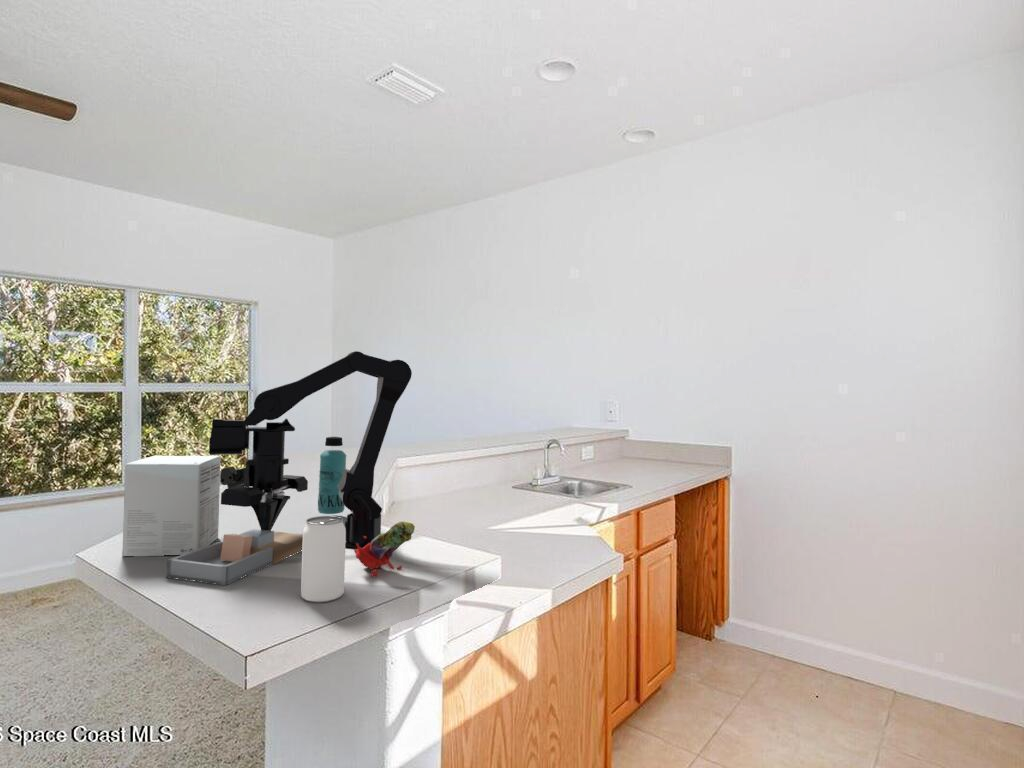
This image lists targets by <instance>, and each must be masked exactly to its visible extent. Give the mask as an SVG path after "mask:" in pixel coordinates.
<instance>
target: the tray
mask: <svg viewBox="0 0 1024 768" xmlns="http://www.w3.org/2000/svg"><path fill="white" fill-rule="evenodd" d="M222 544H223V541H218V542H215V543H214V542H213V543H211V544H210V545H208V546H206V547H203V548H200V549H197V550H194V551H191V552H188V553H186V554H183V555H180V556H173V557H172V558H169V559H167V560H166V578H167V577H170V578H169V579H172V578H178V579H177V580H179V579H187V580H195V581H202V582H207V583H206V584H210V583H216V584H215V585H217V584H222V585H221V586H228V585H229V584H228V583H230V584H232V583H234V582H236V581H238V580H237V579H239V578H241V577H243V576H245V575H247V576H249V575H248V574H250V573H252V572H254V571H256V572H258V571H260V570H262V569H261V568H263V569H265V568H267V567H269V566H271V565H273V564H272V562H273V548H271V547H269V548H266V549H264V550H261V551H259V552H256V553H254V554H251V555H249V556H247V557H244V558H242V559H239V560H237V561H234V562H232V561H224V560H220V557H221V551H222ZM270 564H271V565H270ZM268 565H269V566H268ZM266 566H267V567H266ZM264 567H265V568H264ZM259 569H260V570H259ZM257 570H258V571H257ZM254 573H255V572H254ZM252 574H253V573H252ZM250 575H251V574H250ZM245 577H246V576H245ZM243 578H244V577H243ZM241 579H242V578H241ZM187 580H186V581H187ZM235 580H236V581H235ZM239 580H240V579H239ZM233 581H234V582H233ZM202 582H201V583H202ZM231 582H232V583H231ZM227 584H228V585H227Z"/></svg>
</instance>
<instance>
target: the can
mask: <svg viewBox="0 0 1024 768" xmlns="http://www.w3.org/2000/svg"><path fill="white" fill-rule="evenodd" d="M305 522H306V524H305V525H304V527H303V531H302V534H303V543H302V551H301V552H302V553H301V577H300V579H301V582H300V583H301V585H300V586H301V587H300V596H301V598H302V599H303V600H304V601H306V602H308V603H313V604H314V603H315V604H316V603H329V602H333V601H337V600H339V599H340V598H341V597H342V596H343V594H344V592H345V575H346V574H345V570H346V569H345V568H346V547H345V542H346V528H345V523H344V518H343V517H341V516H337V515H336V516H335V515H320V516H315V517H314V516H312V517H310V518H307V519H306V520H305Z"/></svg>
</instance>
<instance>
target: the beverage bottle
mask: <svg viewBox="0 0 1024 768" xmlns="http://www.w3.org/2000/svg"><path fill="white" fill-rule="evenodd" d="M324 444H325V446H326V447H342V446H344V445H343V438H342V437H340V436H328V437H326V438H325V442H324ZM319 457H320V458H319V459H320V460H319V471H318V477H319V480H318V499H317V510H318V513H319V514H322V515H335V514H342V513H343V512H344V511H345V508H346V507H345V505H344V503H343V502H342V500H341V498H340V496H339V488H338V487H337V485H338V484H339V483H340V481H341V478H342V473H343V469H344V468H345V469H347V466H346V465H347V454H346V453H345V452H344V450H341V449H327V450H326V449H325V450H324V451H323V452H322V453H321V454H320V455H319Z"/></svg>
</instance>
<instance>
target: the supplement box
mask: <svg viewBox="0 0 1024 768" xmlns="http://www.w3.org/2000/svg"><path fill="white" fill-rule="evenodd" d="M220 475H221V455H159V454H158V455H152V456H149V457H145V458H141V459H137V460H135V461H130V462H127V463H125V464H124V494H123V496H124V497H123V523H122V526H123V528H122V549H121V550H122V553H121V556H122V557H123V556H134V557H165V556H164V555H183V554H186V553H188V552H191V551H194V550H197V549H200V548H203V547H206V546H208V545H211V544H213V543H214V542H215V541H216V540H217V539H219V525H220V523H219V522H220V521H219V520H220V519H219V518H220V491H221V489H220V488H221V482H220Z"/></svg>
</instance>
